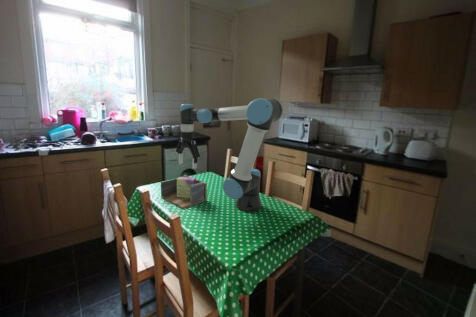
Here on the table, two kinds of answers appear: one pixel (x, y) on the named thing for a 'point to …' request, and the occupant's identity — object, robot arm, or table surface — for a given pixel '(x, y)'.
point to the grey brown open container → (170, 194)
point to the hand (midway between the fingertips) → (187, 166)
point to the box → (184, 186)
